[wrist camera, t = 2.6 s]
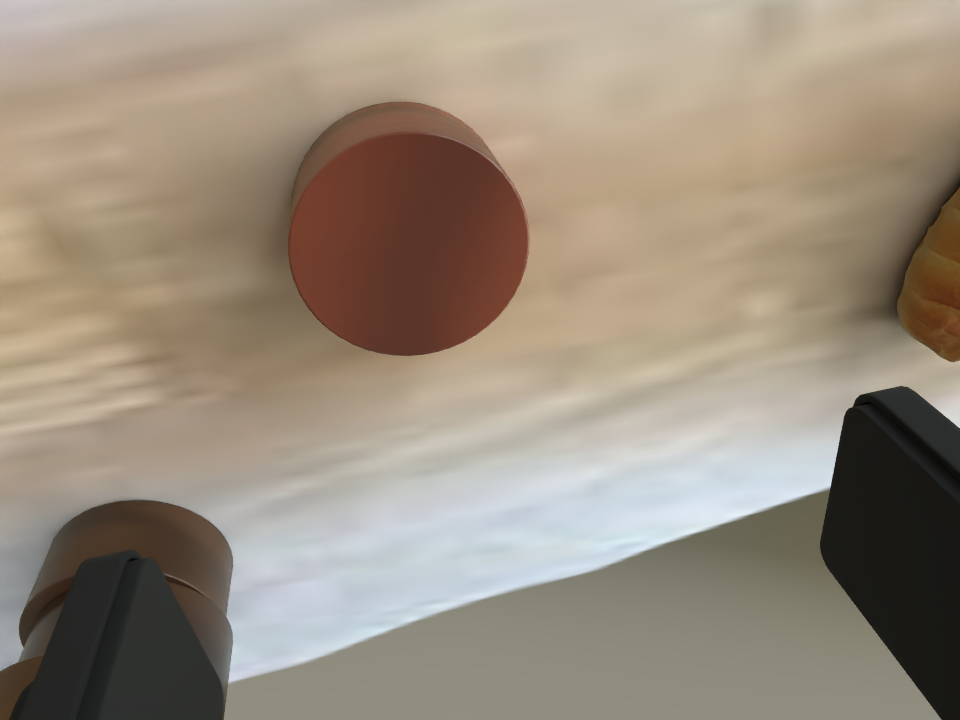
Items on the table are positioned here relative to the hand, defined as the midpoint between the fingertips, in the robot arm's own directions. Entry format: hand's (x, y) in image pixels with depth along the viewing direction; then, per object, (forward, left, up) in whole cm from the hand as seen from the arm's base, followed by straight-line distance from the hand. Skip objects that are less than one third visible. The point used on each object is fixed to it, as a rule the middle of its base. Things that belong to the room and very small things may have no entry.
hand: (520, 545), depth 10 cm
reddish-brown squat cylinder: (0, 0, -13) cm, 13 cm away
